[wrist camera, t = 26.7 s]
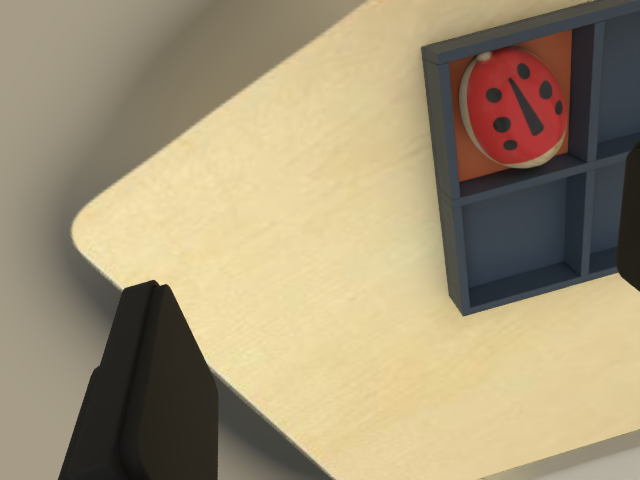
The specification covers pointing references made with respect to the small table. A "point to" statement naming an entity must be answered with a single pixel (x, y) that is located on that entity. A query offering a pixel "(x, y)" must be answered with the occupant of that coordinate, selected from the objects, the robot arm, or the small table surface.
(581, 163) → the four-compartment sorting tray
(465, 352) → the small table surface
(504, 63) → the ladybug figurine
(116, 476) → the robot arm
